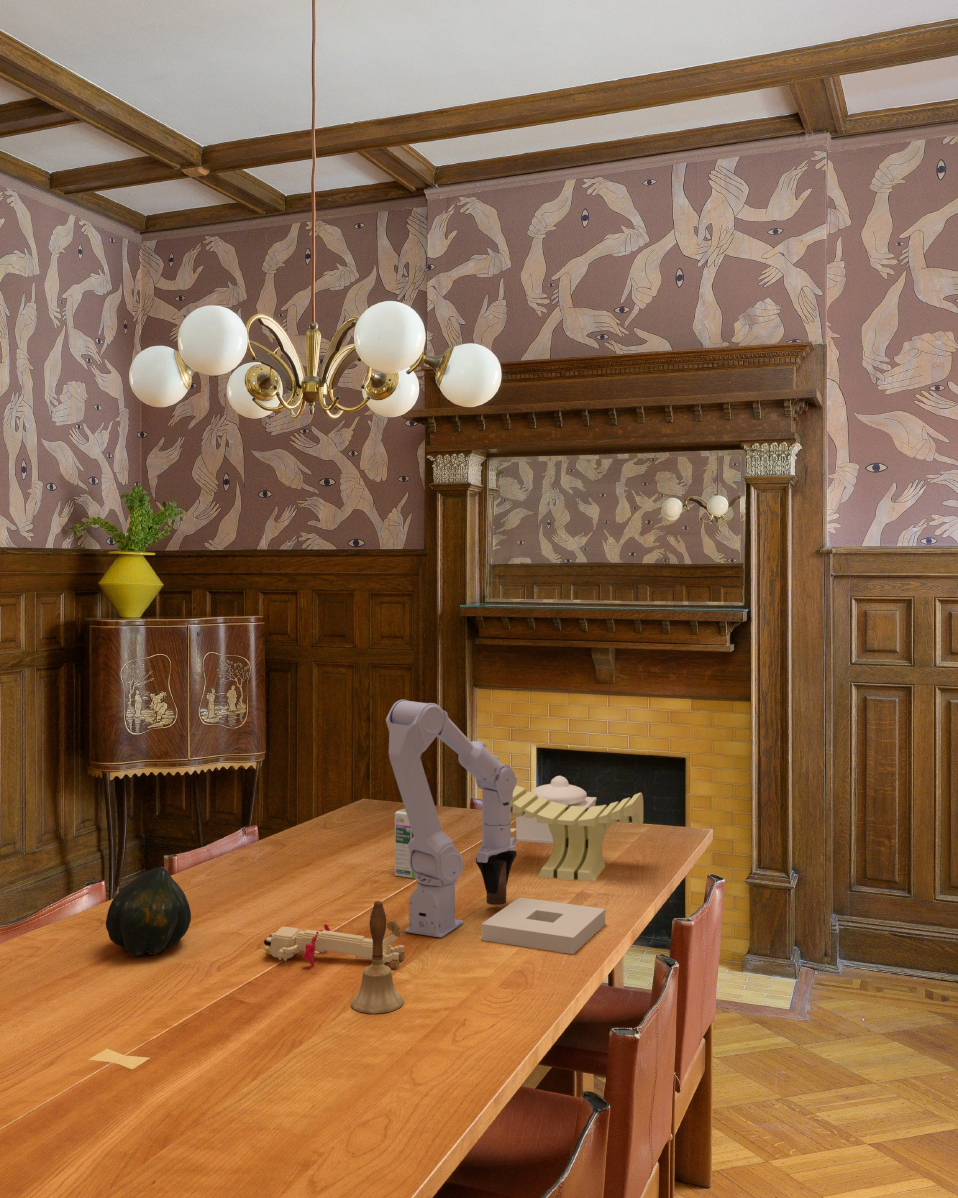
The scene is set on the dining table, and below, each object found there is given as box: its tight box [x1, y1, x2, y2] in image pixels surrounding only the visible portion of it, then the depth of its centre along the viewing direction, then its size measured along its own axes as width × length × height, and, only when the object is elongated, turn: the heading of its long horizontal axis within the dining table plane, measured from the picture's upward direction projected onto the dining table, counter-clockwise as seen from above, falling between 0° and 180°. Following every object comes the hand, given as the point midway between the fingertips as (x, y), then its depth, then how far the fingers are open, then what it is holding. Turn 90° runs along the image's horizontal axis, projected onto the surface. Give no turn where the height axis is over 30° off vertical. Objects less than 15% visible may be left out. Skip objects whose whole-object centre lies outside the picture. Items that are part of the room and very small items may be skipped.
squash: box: [105, 866, 192, 958], centre depth 189 cm, size 14×15×15 cm
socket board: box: [480, 897, 606, 955], centre depth 197 cm, size 18×18×3 cm
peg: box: [486, 861, 507, 906], centre depth 211 cm, size 4×4×8 cm
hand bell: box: [350, 900, 405, 1015], centre depth 163 cm, size 8×8×16 cm
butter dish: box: [515, 775, 597, 844], centre depth 273 cm, size 18×18×16 cm
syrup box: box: [394, 808, 416, 880], centre depth 236 cm, size 6×6×14 cm
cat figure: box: [261, 919, 406, 970], centre depth 183 cm, size 10×9×25 cm
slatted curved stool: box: [511, 785, 644, 882], centre depth 240 cm, size 30×16×18 cm, turn 73°
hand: (496, 890), depth 211 cm, fingers closed on peg, 4 cm apart
